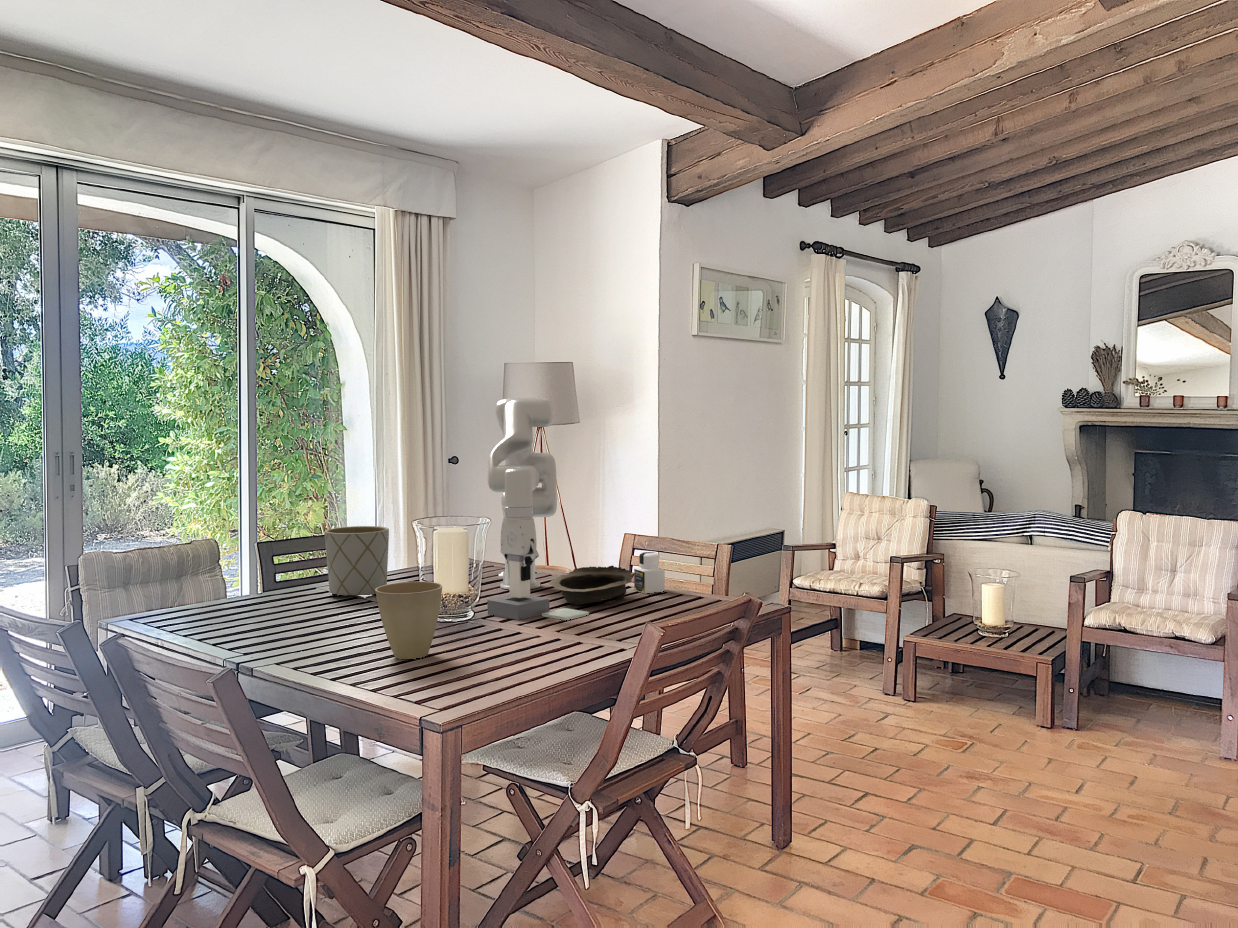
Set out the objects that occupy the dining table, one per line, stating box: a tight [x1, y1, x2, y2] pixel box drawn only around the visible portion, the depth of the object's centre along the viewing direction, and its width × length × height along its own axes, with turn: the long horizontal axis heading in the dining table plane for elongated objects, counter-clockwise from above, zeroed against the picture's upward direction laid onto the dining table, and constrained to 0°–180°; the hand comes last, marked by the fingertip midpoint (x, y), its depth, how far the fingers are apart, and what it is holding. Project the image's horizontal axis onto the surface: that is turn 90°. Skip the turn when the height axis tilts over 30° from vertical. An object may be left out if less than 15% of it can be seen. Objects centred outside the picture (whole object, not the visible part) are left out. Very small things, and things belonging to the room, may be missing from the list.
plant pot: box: [375, 581, 443, 660], centre depth 220 cm, size 15×15×16 cm
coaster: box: [541, 607, 590, 621], centre depth 263 cm, size 9×9×1 cm
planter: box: [323, 525, 390, 597], centre depth 297 cm, size 19×19×20 cm
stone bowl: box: [549, 565, 635, 606], centre depth 283 cm, size 25×25×9 cm
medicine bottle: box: [633, 551, 666, 595], centre depth 298 cm, size 7×7×12 cm
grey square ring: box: [486, 594, 550, 621], centre depth 266 cm, size 12×12×4 cm
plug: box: [507, 554, 531, 598], centre depth 266 cm, size 5×5×12 cm
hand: (519, 578), depth 266 cm, fingers closed on plug, 4 cm apart
